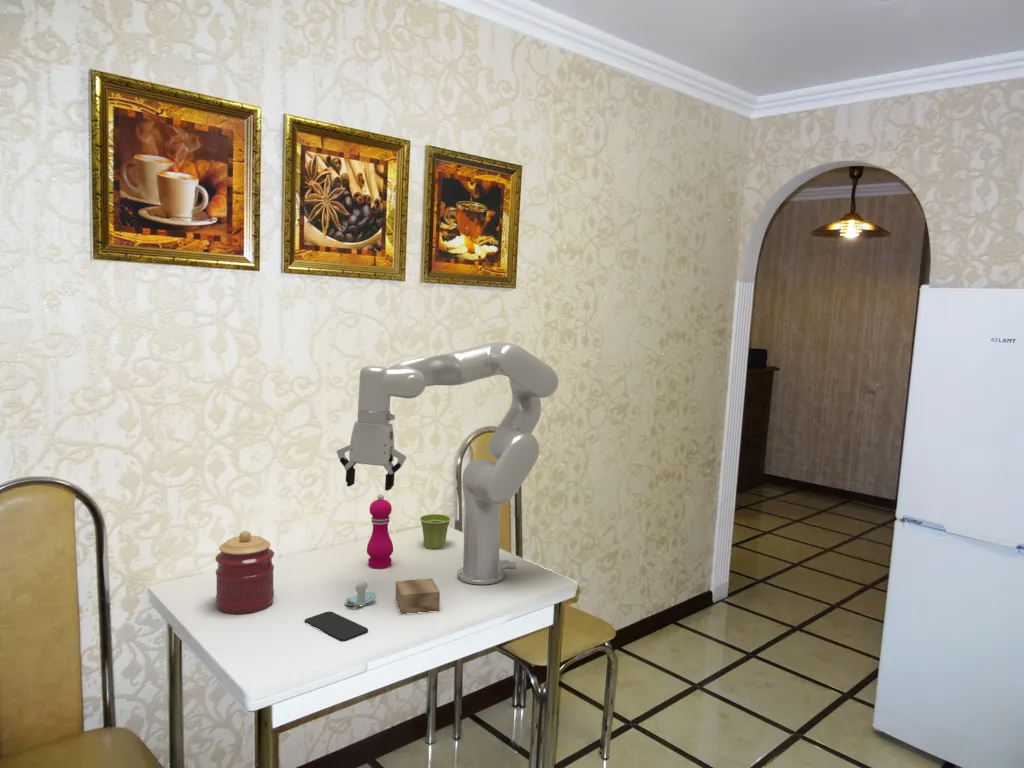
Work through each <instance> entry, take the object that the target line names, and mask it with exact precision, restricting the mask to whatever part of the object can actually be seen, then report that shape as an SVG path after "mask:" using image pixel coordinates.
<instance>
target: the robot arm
mask: <svg viewBox="0 0 1024 768" xmlns="http://www.w3.org/2000/svg"><path fill="white" fill-rule="evenodd" d="M494 376H504V377H508V381H509V386H510V390H511V395H512V398H511V399H512V401H511V404H510V407H509V410H508V411H507V413H506V414H505V415H504V417H503V419H502V420H501V422H500V423H499V425H498V426H497V428H496V429H495V430H494V432H493V434H492V435H491V437H490V438H489V441H488V445H487V449H488V452H489V453H490V455H491V456H492V457H493V458H494V459H496V460H497V461H496V462H493V461H492V460H491V461H490V460H489V459H488V460H487V459H483V458H478V459H475V460H472V461H470V462H469V463H468V464H467V465H466V466H465V468H464V469H463V473H462V479H461V480H462V481H461V483H462V491H463V500H464V501H463V502H464V523H463V525H464V526H463V530H464V531H463V561H462V563H463V565H462V566H463V567H461V568H459V569H458V570H457V574H456V577H457V578H458V579H459V580H460V581H461V582H463V583H467V584H470V585H471V584H472V585H481V586H482V585H492V584H497V583H498V582H501V581H503V580H504V578H505V571H506V570H516V569H517V562H516V561H509V559H505V560H504V559H503V560H502V559H501V558H500V538H501V537H500V535H501V533H500V532H501V504H505V503H507V502H509V501H510V500H511V499H512V498H513V497H514V496H515V495H516V494H517V493H518V490H519V489H520V487H521V486H522V484H524V481H526V479H527V477H528V476H529V474H530V472H531V471H532V469H533V467H534V466H535V464H536V462H537V460H538V458H539V455H540V445H539V441H538V440H537V438H536V437H535V436H534V435H533V434H532V433H533V432H534V429H535V428H536V426H537V424H538V422H539V420H540V417H541V412H542V403H541V399H545V398H550V396H553V394H555V392H557V389H558V387H559V386H558V385H559V378H558V374H557V373H556V371H555V369H553V368H552V367H551V366H550V365H548V364H547V363H545V362H544V361H543V360H540V359H539V358H537V357H536V356H535V355H533V354H532V353H530V352H529V351H527V350H525V348H522V347H521V346H519V345H517V344H515V343H510V342H509V343H508V342H496V341H495V342H489V343H485V344H481V345H478V346H473V347H469V348H466V349H461V350H456V351H452V352H448V353H442V354H438V355H434V356H427V357H421V358H419V359H412V360H408V361H406V362H405V361H404V362H402V363H401V362H400V363H397V364H393V365H391V366H389V367H385V366H376V365H375V366H374V365H370V366H369V365H367V366H363V367H362V368H361V369H360V372H359V382H358V383H359V384H358V385H359V387H358V400H357V401H358V402H357V421H355V422H354V424H353V427H352V432H351V436H350V444H349V445H347V446H345V447H342V448H339V449H338V450H336V455H337V457H338V459H339V462H340V463H341V465H342V466H343V468H344V470H345V483H346V486H347V487H352V486H353V485H355V482H356V481H355V476H356V468H355V467H354V466H356V464H361V465H371V466H381V467H384V469H385V471H386V472H387V474H385V483H384V485H385V486H384V490H385V491H387V492H388V491H390V490H392V488H393V487H394V486H395V473H396V472H398V470H400V469H401V468H402V467H403V465H404V463H405V461H406V460H407V456H406V455H405V454H403V453H402V452H401V451H398V450H397V449H395V438H394V437H395V436H394V435H395V434H394V427H393V423H390V422H391V421H394V420H395V418H396V415H395V414H393V413H391V406H390V405H391V397H396V398H400V399H401V398H402V399H414V398H417V397H420V395H422V394H423V392H424V391H425V389H426V388H427V387H431V386H432V387H433V386H462V385H465V384H468V383H473V382H474V381H479V380H483V379H487V378H491V377H494ZM347 452H348V454H349V455H348V458H349V459H348V458H347V457H346V453H347ZM395 458H396V459H397V462H396V463H395V464H394V463H393V462H394V459H395Z"/></svg>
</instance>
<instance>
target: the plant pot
mask: <svg viewBox="0 0 1024 768" xmlns="http://www.w3.org/2000/svg"><path fill="white" fill-rule="evenodd" d="M419 521H420V523H421V526H422V527H421V528H422V534H423V545H424V547H425V548H427V549H430V550H434V549H443V548H444V547H445V546H446V541H447V535H448V528H449V525H450V522H451V521H452V518H451V516H449V515H446V514H443V513H441V514H440V513H428V514H424V515H422V516H420V517H419Z"/></svg>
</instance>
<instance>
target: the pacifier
mask: <svg viewBox="0 0 1024 768" xmlns="http://www.w3.org/2000/svg"><path fill="white" fill-rule="evenodd" d="M367 588H368V582H367V581H366V580H364V579H362V580H360V581H358V582H357V584H356V586H355V591H356V595H354V596H353V595H352V596H350V597H346V600H345V601H344V605H346V606H347V607H352V606H353V607H354V606H360V605H364V604H366V603H367V604H369V603H371V602H373V601H374V600H375V599H376V596H377V595H376V592H375V591H367ZM366 591H367V592H366Z"/></svg>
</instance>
